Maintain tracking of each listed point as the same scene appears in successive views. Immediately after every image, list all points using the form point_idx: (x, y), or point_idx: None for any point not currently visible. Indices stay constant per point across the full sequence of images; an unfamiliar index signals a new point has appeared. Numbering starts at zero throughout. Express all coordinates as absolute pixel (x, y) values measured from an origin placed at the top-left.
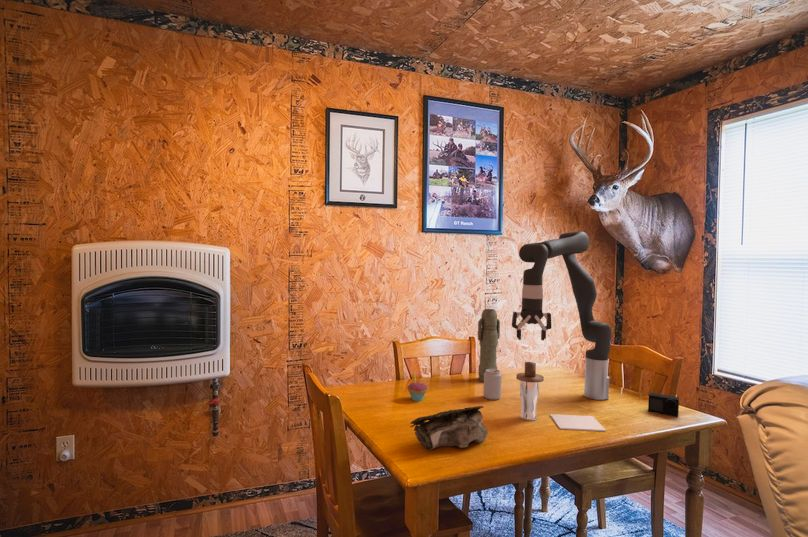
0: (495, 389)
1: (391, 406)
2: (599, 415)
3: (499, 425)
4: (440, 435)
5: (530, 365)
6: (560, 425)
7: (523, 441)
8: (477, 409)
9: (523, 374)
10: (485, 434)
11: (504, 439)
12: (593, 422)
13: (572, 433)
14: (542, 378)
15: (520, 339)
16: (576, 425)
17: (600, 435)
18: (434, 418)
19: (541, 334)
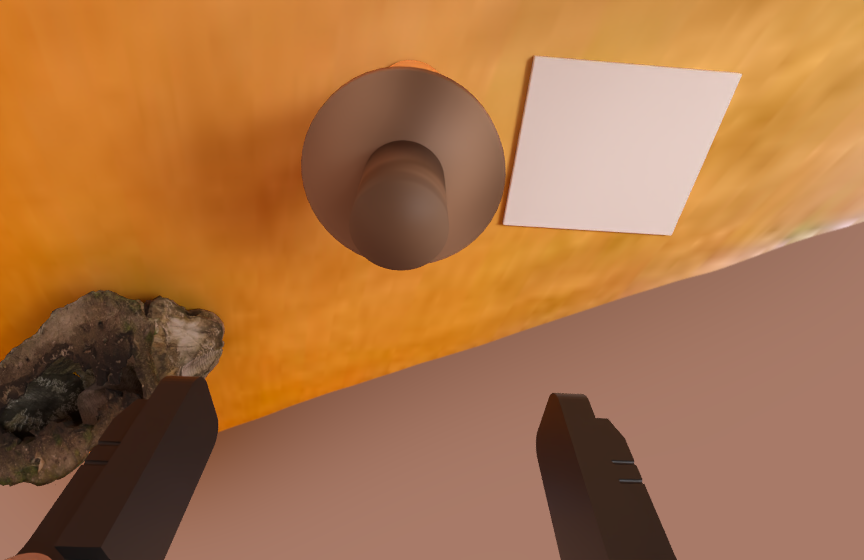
0: None
1: None
2: (801, 34)
3: (270, 199)
4: (83, 391)
5: (390, 264)
6: (517, 201)
7: (344, 318)
8: (149, 379)
9: (362, 133)
10: (216, 364)
11: (285, 309)
12: (681, 159)
13: (531, 254)
14: (478, 232)
15: (211, 432)
16: (583, 198)
17: (622, 264)
18: (29, 441)
19: (570, 483)
